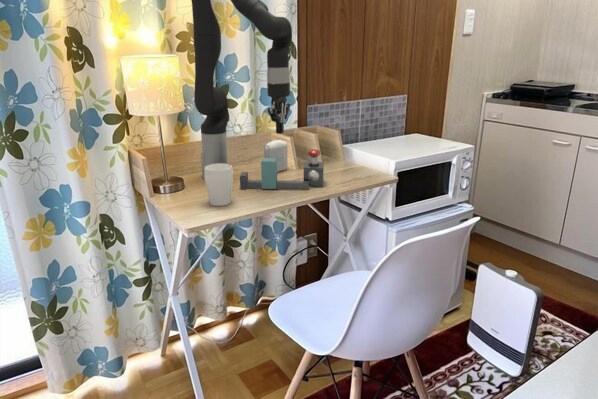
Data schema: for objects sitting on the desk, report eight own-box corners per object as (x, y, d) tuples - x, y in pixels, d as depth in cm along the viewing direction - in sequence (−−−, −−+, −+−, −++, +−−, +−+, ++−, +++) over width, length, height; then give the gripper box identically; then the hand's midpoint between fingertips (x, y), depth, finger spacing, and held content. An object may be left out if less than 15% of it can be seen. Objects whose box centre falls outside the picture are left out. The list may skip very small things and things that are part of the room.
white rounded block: (282, 167, 189) (281, 137, 184) (289, 169, 186) (289, 139, 181) (262, 172, 182) (261, 141, 178) (269, 174, 179) (269, 143, 175)
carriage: (261, 188, 162) (261, 161, 159) (263, 184, 166) (262, 158, 163) (275, 189, 162) (275, 161, 158) (277, 185, 166) (276, 158, 162)
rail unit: (240, 189, 162) (239, 170, 160) (246, 178, 175) (246, 160, 172) (322, 191, 161) (323, 172, 158) (323, 180, 173) (323, 162, 170)
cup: (209, 209, 144) (207, 172, 140) (203, 200, 152) (201, 165, 148) (237, 205, 148) (236, 169, 144) (230, 196, 156) (228, 162, 151)
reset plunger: (307, 171, 166) (307, 152, 163) (308, 168, 170) (308, 149, 167) (319, 172, 165) (320, 152, 163) (320, 168, 169) (320, 149, 167)
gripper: (277, 79, 159) (278, 129, 165) (258, 83, 148) (261, 136, 154) (297, 79, 157) (297, 130, 162) (279, 83, 145) (281, 137, 151)
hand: (279, 133), depth 158 cm, fingers closed
